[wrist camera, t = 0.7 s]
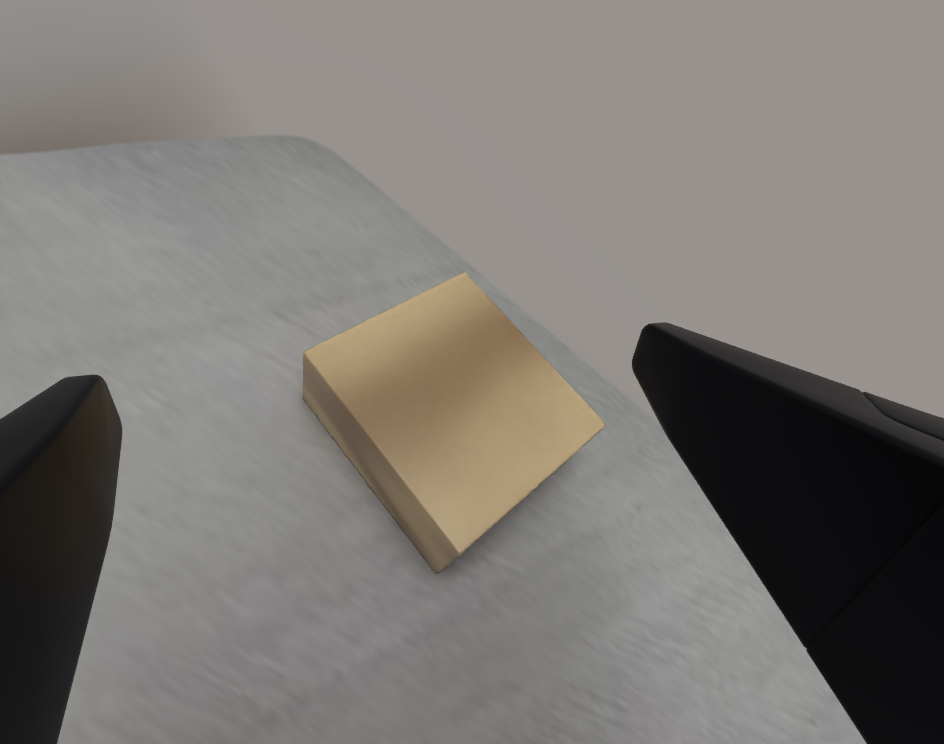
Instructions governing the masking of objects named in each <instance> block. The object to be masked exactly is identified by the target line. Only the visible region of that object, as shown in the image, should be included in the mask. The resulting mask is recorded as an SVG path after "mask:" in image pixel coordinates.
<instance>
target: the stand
mask: <svg viewBox="0 0 944 744" xmlns="http://www.w3.org/2000/svg"><path fill="white" fill-rule="evenodd" d="M303 398H304V400H305V401H306V402H307V404H308V405H309V406H310V408H311V409H312V410H313V412H314V413H315V414H316V416H317V417H318V418H319V420H320V421H321V422H322V424H323V425H324V426H325V428H326V429H327V430H328V431H329V433H330V434H331V435H332V437H333V438H334V439H335V441H336V442H337V443H338V445H339V446H340V447H341V449H342V450H343V451H344V453H345V454H346V455H347V457H348V458H349V459H350V461H351V462H352V463H353V465H354V466H355V467H356V469H357V470H358V471H359V473H360V474H361V475H362V476H363V478H364V479H365V480H366V482H367V483H368V484H369V486H370V487H371V488H372V490H373V491H374V492H375V494H376V495H377V496H378V498H379V499H380V500H381V502H382V503H383V504H384V506H385V507H386V508H387V510H388V511H389V512H390V514H391V515H392V516H393V518H394V519H395V520H396V521H397V523H398V524H399V525H400V527H401V528H402V529H403V531H404V532H405V533H406V535H407V536H408V537H409V539H410V540H411V541H412V543H413V544H414V545H415V547H416V548H417V549H418V551H419V552H420V553H421V555H422V556H423V557H424V559H425V560H426V561H427V563H428V564H429V565H430V566H431V568H432V569H433V570H434V572H435V573H439V572H440V571H441V570H442V569H444V568H445V567H446V566H447V565H448V564H450V563H451V562H452V561H453V560H454V559H456V558H457V557H458V556H459V555H461V554H462V553H463V552H464V551H465V550H466V549H467V548H469V547H470V546H471V545H472V544H473V543H474V542H475V541H476V540H478V539H479V538H480V537H481V536H482V535H483V534H484V533H486V532H487V531H488V530H489V529H490V528H491V527H492V526H493V525H495V524H496V523H497V522H498V521H499V520H500V519H501V518H503V517H504V516H505V515H506V514H507V513H508V512H509V511H510V510H512V509H513V508H514V507H515V506H516V505H517V504H518V503H519V502H521V501H522V500H523V499H524V498H525V497H526V496H527V495H529V494H530V493H531V492H532V491H533V490H534V489H535V488H536V487H538V486H539V485H540V484H541V483H542V482H543V481H544V480H546V479H547V478H548V477H549V476H550V475H551V474H552V473H553V472H555V471H556V470H557V469H558V468H559V467H560V466H561V465H562V464H564V463H565V462H566V461H567V460H568V459H569V458H570V457H572V456H573V455H574V454H575V453H576V452H577V451H578V450H579V449H581V448H582V447H583V446H584V445H585V444H586V443H587V442H589V441H590V440H591V439H592V438H593V437H594V436H595V435H596V434H598V433H599V432H600V431H601V430H602V429H603V428H604V427H605V426H606V424H605V423H604V422H603V421H602V419H601V418H600V417H599V416H598V415H597V414H596V413H595V412H594V411H593V410H592V409H591V408H590V406H589V405H588V404H587V403H586V402H585V401H584V400H583V399H582V398H581V397H580V396H579V395H578V394H577V392H576V391H575V390H574V389H573V388H572V387H571V386H570V385H569V384H568V383H567V382H566V381H565V379H564V378H563V377H562V376H561V375H560V374H559V373H558V372H557V371H556V370H555V369H554V368H553V367H552V365H551V364H550V363H549V362H548V361H547V360H546V359H545V358H544V357H543V356H542V355H541V354H540V352H539V351H538V350H537V349H536V348H535V347H534V346H533V345H532V344H531V343H530V342H529V341H528V339H527V338H526V337H525V336H524V335H523V334H522V333H521V332H520V331H519V330H518V329H517V328H516V327H515V325H514V324H513V323H512V322H511V321H510V320H509V319H508V318H507V317H506V316H505V315H504V314H503V312H502V311H501V310H500V309H499V308H498V307H497V306H496V305H495V304H494V303H493V302H492V301H491V300H490V298H489V297H488V296H487V295H486V294H485V293H484V292H483V291H482V290H481V289H480V288H479V287H478V285H477V284H476V283H475V282H474V281H473V280H472V279H471V278H470V277H469V276H468V275H467V274H466V273H465V272H464V273H462V274H460V275H458V276H456V277H454V278H452V279H450V280H448V281H446V282H444V283H442V284H440V285H438V286H436V287H433V288H431V289H429V290H427V291H425V292H423V293H421V294H419V295H417V296H415V297H413V298H411V299H409V300H407V301H405V302H403V303H401V304H399V305H397V306H395V307H393V308H391V309H389V310H387V311H385V312H383V313H381V314H379V315H377V316H375V317H373V318H371V319H369V320H367V321H365V322H363V323H361V324H359V325H357V326H355V327H353V328H350V329H348V330H346V331H344V332H342V333H340V334H338V335H336V336H334V337H332V338H330V339H328V340H326V341H324V342H322V343H320V344H318V345H316V346H314V347H312V348H310V349H308V350H306V351H304V352H303Z"/></svg>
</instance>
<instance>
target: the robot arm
mask: <svg viewBox="0 0 944 744" xmlns="http://www.w3.org/2000/svg"><path fill="white" fill-rule="evenodd" d="M632 369H633V372H634V374H635V376H636V378H637V380H638V381H639V384H640V386H641V388H642V390H643V391H644V393H645V395H646V397H647V399H648V401H649V403H650V405H651V407H652V409H653V411H654V413H655V415H656V417H657V419H658V421H659V423H660V424H661V426H662V428H663V430H664V432H665V433H666V435H667V437H668V438H669V440H670V442H671V443H672V445H673V446H674V448H675V449H676V451H677V452H678V454H679V455H680V457H681V459H682V460H683V462H684V463H685V465H686V466H687V468H688V469H689V471H690V472H691V474H692V475H693V477H694V478H695V480H696V482H697V483H698V485H699V486H700V488H701V489H702V491H703V492H704V494H705V495H706V497H707V498H708V500H709V501H710V503H711V505H712V506H713V508H714V509H715V511H716V512H717V514H718V515H719V517H720V518H721V520H722V521H723V523H724V524H725V526H726V528H727V529H728V531H729V532H730V534H731V535H732V537H733V538H734V540H735V541H736V543H737V544H738V546H739V547H740V549H741V551H742V552H743V554H744V555H745V557H746V558H747V560H748V561H749V563H750V564H751V566H752V567H753V569H754V570H755V572H756V574H757V575H758V577H759V578H760V580H761V581H762V583H763V584H764V586H765V587H766V589H767V590H768V592H769V593H770V595H771V597H772V598H773V600H774V601H775V603H776V604H777V606H778V607H779V609H780V610H781V612H782V613H783V615H784V616H785V618H786V620H787V621H788V623H789V624H790V626H791V627H792V629H793V630H794V632H795V633H796V635H797V636H798V638H799V639H800V641H801V643H802V644H803V646H804V647H805V648H807V649H806V650H807V652H808V654H809V656H810V657H811V659H812V660H813V662H814V663H815V665H816V666H817V668H818V669H819V671H820V672H821V674H822V676H823V677H824V679H825V680H826V682H827V683H828V685H829V686H830V688H831V689H832V691H833V692H834V694H835V695H836V697H837V699H838V700H839V702H840V703H841V705H842V706H843V708H844V709H845V711H846V712H847V714H848V715H849V717H850V718H851V720H852V722H853V723H854V725H855V726H856V728H857V729H858V731H859V732H860V734H861V735H862V737H863V738H864V740H865V742H866V743H867V744H944V418H941V417H937V416H935V415H931V414H928V413H925V412H922V411H919V410H916V409H913V408H910V407H908V406H904V405H902V404H898V403H896V402H893V401H890V400H887V399H884V398H881V397H878V396H875V395H873V394H870V393H867V392H861V391H860V390H858V389H855V388H852V387H850V386H846V385H844V384H841V383H838V382H835V381H832V380H829V379H827V378H824V377H821V376H818V375H815V374H812V373H810V372H807V371H804V370H801V369H798V368H795V367H792V366H790V365H787V364H784V363H781V362H778V361H775V360H772V359H769V358H766V357H764V356H761V355H758V354H755V353H752V352H749V351H747V350H744V349H741V348H738V347H735V346H732V345H729V344H727V343H724V342H721V341H718V340H715V339H712V338H709V337H707V336H704V335H701V334H698V333H695V332H692V331H689V330H686V329H684V328H681V327H678V326H675V325H672V324H669V323H654V324H648V325H646V326H645V327H644V328H643V329H642V331H641V334H640V337H639V340H638V343H637V347H636V350H635V353H634V356H633V359H632ZM121 441H122V424H121V420H120V417H119V415H118V412H117V409H116V407H115V404H114V402H113V399H112V397H111V394H110V392H109V389H108V386H107V384H106V382H105V381H104V379H103V378H102V377H101V376H99V375H84V376H73V377H66V378H64V379H62V380H60V381H59V382H57V383H56V384H54V385H52V386H51V387H49V388H48V389H46V390H45V391H43V392H42V393H40V394H39V395H37V396H35V397H34V398H32V399H31V400H29V401H28V402H26V403H25V404H23V405H22V406H20V407H19V408H17V409H15V410H14V411H12V412H11V413H9V414H8V415H6V416H5V417H3V418H2V419H0V744H57V741H58V737H59V733H60V729H61V726H62V722H63V718H64V714H65V710H66V706H67V702H68V698H69V694H70V690H71V686H72V682H73V679H74V675H75V671H76V667H77V663H78V659H79V655H80V651H81V647H82V643H83V639H84V635H85V632H86V628H87V624H88V620H89V616H90V612H91V608H92V604H93V600H94V596H95V592H96V588H97V585H98V581H99V577H100V573H101V569H102V565H103V561H104V557H105V553H106V549H107V545H108V541H109V537H110V532H111V528H112V521H113V514H114V505H115V496H116V487H117V478H118V469H119V459H120V450H121Z"/></svg>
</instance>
